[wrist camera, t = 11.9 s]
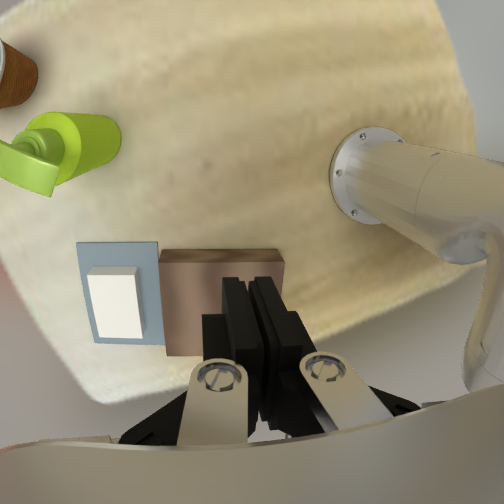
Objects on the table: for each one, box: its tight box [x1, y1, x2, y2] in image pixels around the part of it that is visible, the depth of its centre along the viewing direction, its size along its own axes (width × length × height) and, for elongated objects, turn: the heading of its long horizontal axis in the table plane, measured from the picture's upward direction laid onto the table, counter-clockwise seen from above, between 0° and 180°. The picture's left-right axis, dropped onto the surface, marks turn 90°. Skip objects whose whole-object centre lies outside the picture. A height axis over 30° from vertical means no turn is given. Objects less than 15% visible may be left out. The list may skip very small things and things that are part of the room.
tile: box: [87, 266, 145, 338], centre depth 38 cm, size 6×9×2 cm, turn 178°
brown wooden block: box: [158, 249, 285, 356], centre depth 40 cm, size 14×13×4 cm
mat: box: [76, 242, 165, 345], centre depth 39 cm, size 10×15×1 cm
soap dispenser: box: [0, 112, 121, 197], centre depth 23 cm, size 6×7×20 cm
